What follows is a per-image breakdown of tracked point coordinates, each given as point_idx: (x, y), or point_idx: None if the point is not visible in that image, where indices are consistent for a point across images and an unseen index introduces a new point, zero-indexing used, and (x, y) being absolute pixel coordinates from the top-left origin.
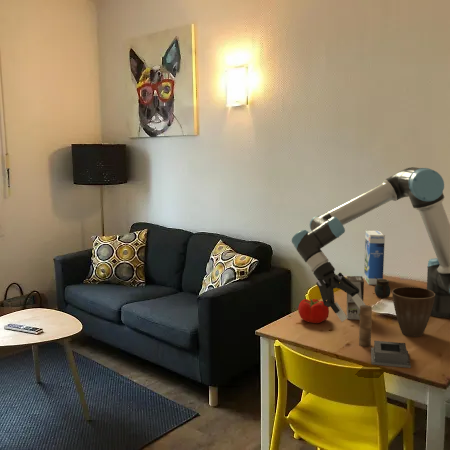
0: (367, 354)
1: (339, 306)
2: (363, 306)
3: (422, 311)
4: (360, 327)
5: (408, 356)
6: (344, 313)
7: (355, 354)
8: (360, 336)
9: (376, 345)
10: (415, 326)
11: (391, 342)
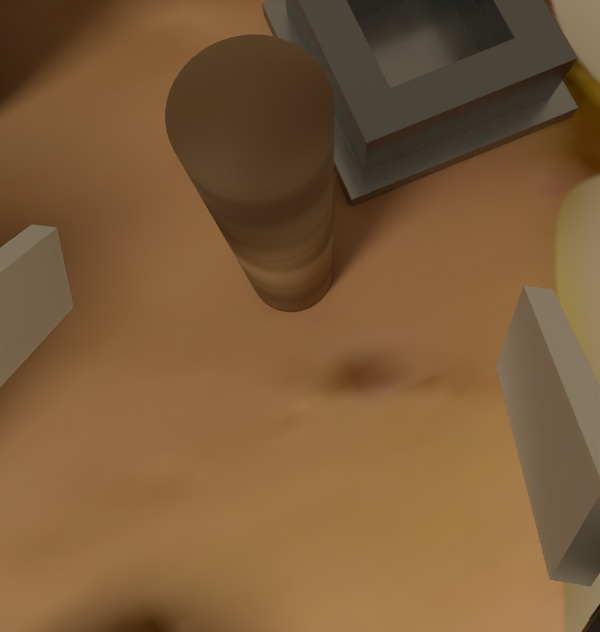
0: (440, 194)
1: (588, 408)
2: (250, 144)
3: None
4: (324, 250)
5: None
6: (549, 323)
7: (493, 257)
8: (327, 272)
9: (449, 95)
10: None
11: (325, 36)
